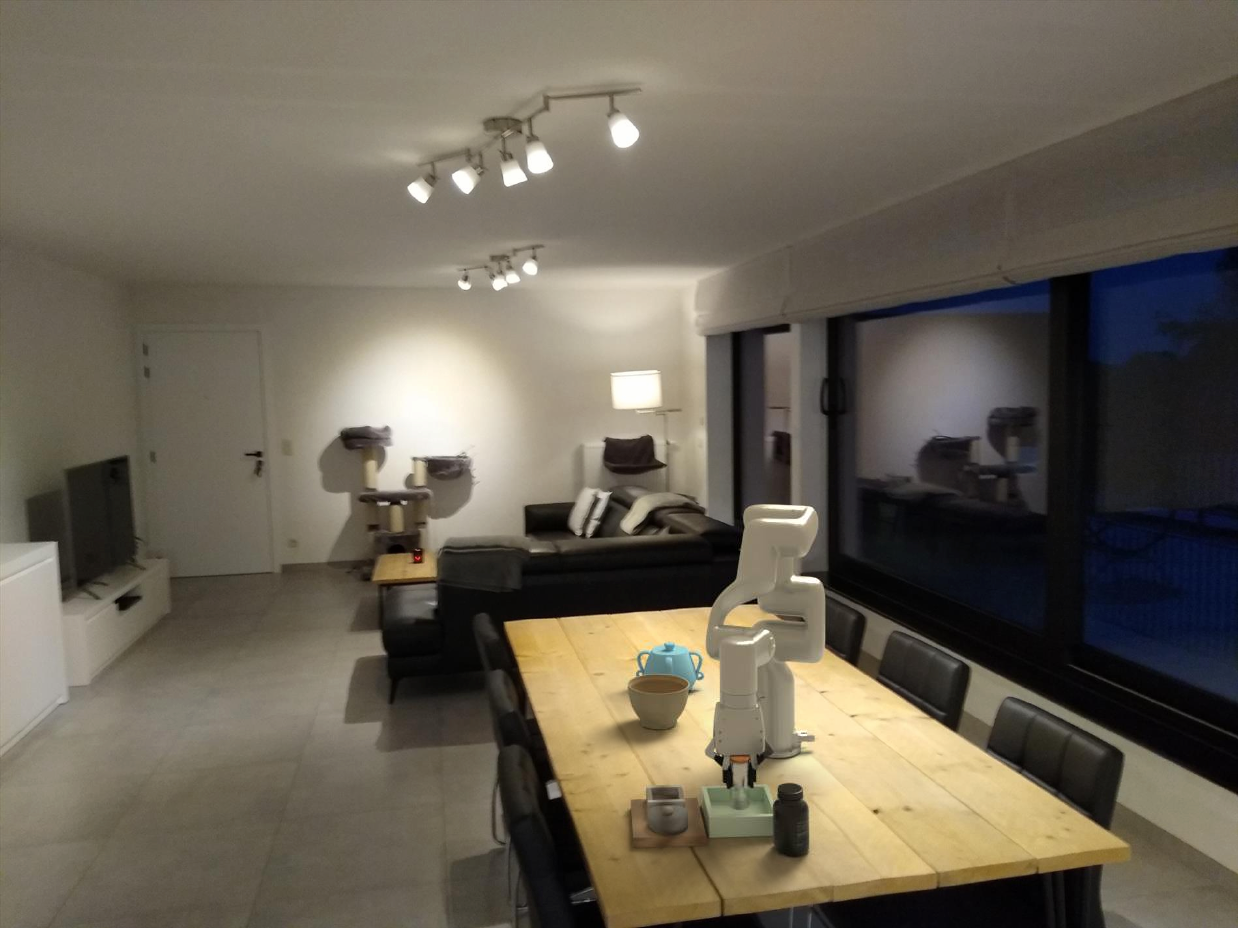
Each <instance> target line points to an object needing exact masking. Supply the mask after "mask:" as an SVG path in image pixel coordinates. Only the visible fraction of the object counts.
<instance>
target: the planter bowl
mask: <svg viewBox="0 0 1238 928" xmlns="http://www.w3.org/2000/svg"><path fill="white" fill-rule="evenodd" d="M627 689H628V697H629V702H630V706H631V707H632V710H633V711H634V713H635V715H636V716H637V718H638V719H639V721H640V725H641V726H643V727H644V728H647V729H650V730H669V729H671V728H673V727H675V726H676V725H677V724H678V719H679V718H680V717H681V715H682V714H683V713H684V711H685V708H686V705H687V703H688V698H689V691H690V690H689V682H688V681H687V680H686V679H684V678H681V677H678V676H674V675H668V674H648V675H642V674H641V675H640V676H638V677H636V676H635V677H632V678H631V679H630V680H629V681H627Z"/></svg>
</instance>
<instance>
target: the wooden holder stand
mask: <svg viewBox="0 0 1238 928" xmlns="http://www.w3.org/2000/svg"><path fill="white" fill-rule="evenodd" d="M630 816H631V828H632V829H631V830H632V843H633V848H636V849H637V848H638V849H639V848H669V847H671V848H672V847H674V848H675V847H676V848H677V847H699V846H700V847H704V846H707V834H706V830H705V826H704V821H703V817H702V812H701V809H700V804H699V799H698V797H685V795H684V790H683V785H682V784H664V785H663V784H661V785H660V784H659V785H645V798H637V799H636V798H635V799H633V798H631V799H630Z"/></svg>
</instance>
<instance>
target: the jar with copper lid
mask: <svg viewBox="0 0 1238 928" xmlns="http://www.w3.org/2000/svg"><path fill="white" fill-rule="evenodd" d="M749 762H750V755H730V760H729V768H730V770H731V788H730V807H731V808H733V809H736V810H745V809H748V808H749V806H750V802H749Z"/></svg>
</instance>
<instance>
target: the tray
mask: <svg viewBox="0 0 1238 928" xmlns="http://www.w3.org/2000/svg"><path fill="white" fill-rule="evenodd" d="M700 792H701V793H700V794H701V796H700V797H701V803H700V804H701V808H702V812H703V816H704V820H705V825H706V828H707V833H708V836H709V837H708V838H710V839H711V838H739V837H740V838H742V837H773V803H774V801H775V799H774V797H773V795H772V792H771V789H770V788H769V785H768V784H767V783H763V784H754V788H750V787H749V802H750V806H749V808H748V809H745V810H736V809H733V808H731V807H730V789H727V786H726V784H725V785H724V784H723V785H702V786H701V790H700Z"/></svg>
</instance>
